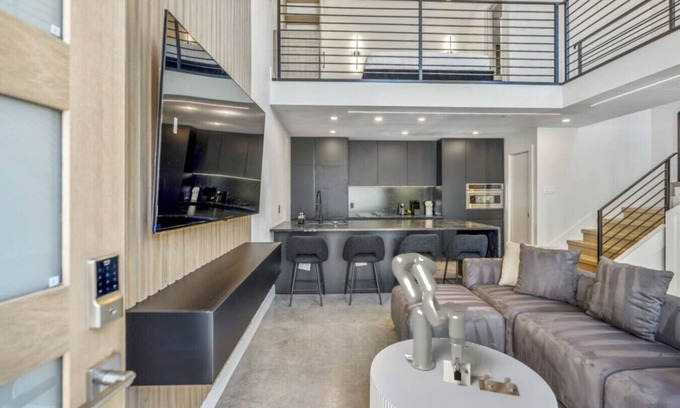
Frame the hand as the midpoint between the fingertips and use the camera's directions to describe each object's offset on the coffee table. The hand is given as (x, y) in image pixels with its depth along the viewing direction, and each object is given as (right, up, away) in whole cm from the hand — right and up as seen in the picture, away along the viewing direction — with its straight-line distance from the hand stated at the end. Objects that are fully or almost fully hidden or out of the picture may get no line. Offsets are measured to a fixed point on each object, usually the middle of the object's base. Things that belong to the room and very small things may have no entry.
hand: (457, 375), depth 163 cm
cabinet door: (0, -3, 0) cm, 3 cm away
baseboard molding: (+15, -4, +20) cm, 25 cm away
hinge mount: (+17, -3, -5) cm, 18 cm away
